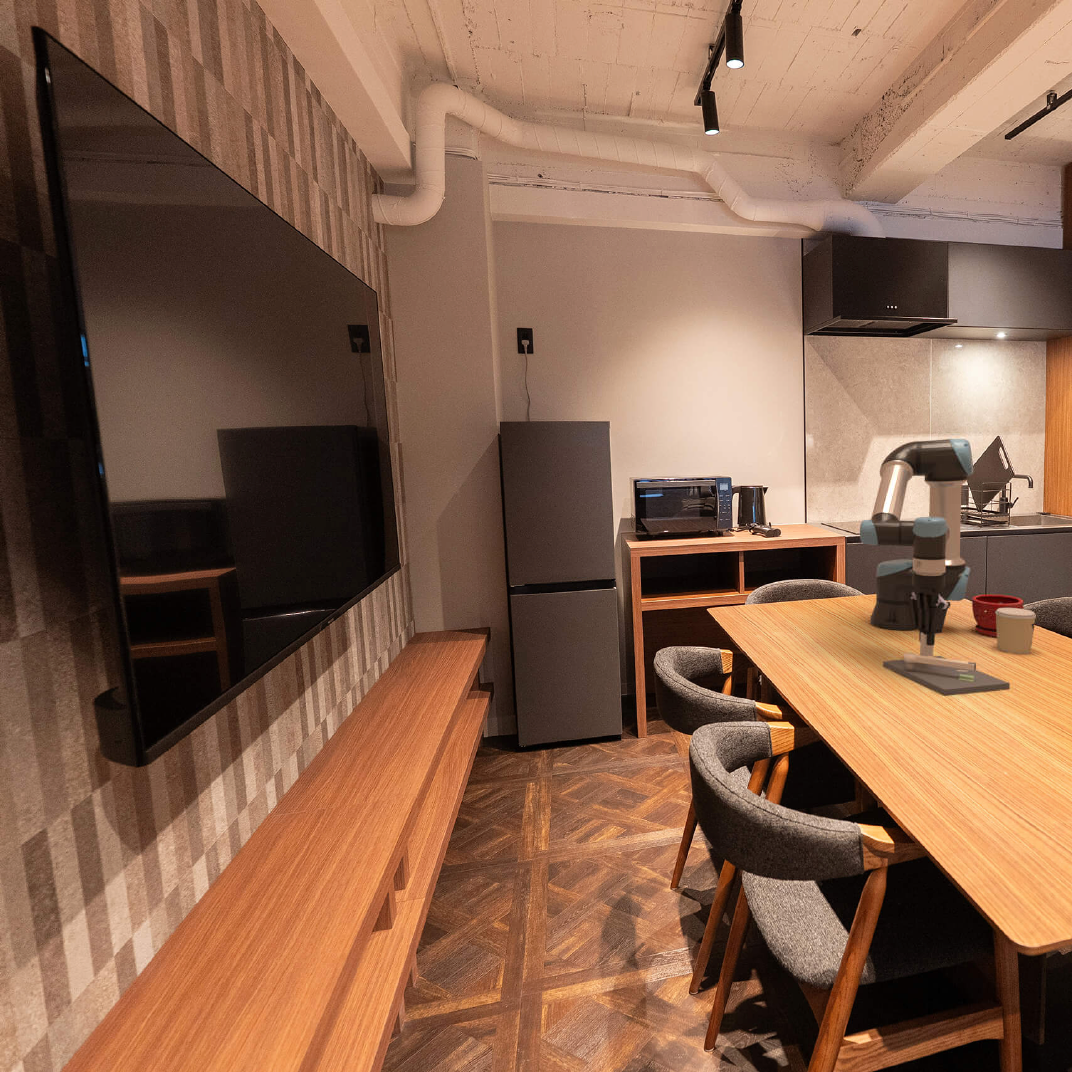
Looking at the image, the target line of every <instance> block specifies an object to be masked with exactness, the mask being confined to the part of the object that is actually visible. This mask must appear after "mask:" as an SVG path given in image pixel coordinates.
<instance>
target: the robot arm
mask: <svg viewBox="0 0 1072 1072" xmlns="http://www.w3.org/2000/svg"><path fill="white" fill-rule="evenodd" d="M973 474H974V461H973V454H972V449H971V443H970V441H968V440H967V439H964V438H948V439H934V440H914V441H910V442H907V443H904V444H902V445H900V446H898V447H896V448H895V449H894V450H892V451H891V452H890V453H889V454H888V455H887V456H886V457H885V458H884V460H883V461H882V463H881V465H880V469H879V476H880V478H881V479H880V483H879V486H878V490H877V494H876V498H875V502H874V505H873V510H872V514H871V518H870V519H865V520H862V522H861V523H860V527H859V538H860V541H861V543H862V544H864V545H871V546H872V545H874V546H896V547H897V546H899V547H900V546H902V547H913V548H912V550H913V551H912V552H913V553H912V559H908V558H905V559H892V560H886V561H882V562H880V563H879V564H878V565H877V567H876V574H875V577H876V596H875V597H876V601H875V605H874V608H873V611H872V613H871V615H870V621H869V622H871V623H870V624H871V625H872V624H873V625H872V626H874V627H877V626H878V627H877V628H880V627H882V629H884V630H885V629H886V630H892V629H893V631H913V630H917V631H918V632H919V633H918V635H919V636H918V638H919V639H918V641H919V644H920V645H919V655H921V656H929V657H933V656H934V646H935V640H936V639H935V637H936V635H937V634H942V632H943V628H944V624H945V621H946V617H947V613H948V610H949V608H950V607H951V605H952V604H951V602H955V601H956V602H961V601H963V600H964V599H965V597H966V593H967V588H968V584H969V578H970V572H971V568H970V567H969V566H966V561H965V560H964V559H963V558H962V557H961V556H960V554H961V524H962V523H961V521H962V517H961V516H962V490H963V489H962V486H963V484H965V483H966V482H967V481H968V479H969V478H968V477H969V476H971V475H973ZM913 477H924V483H926V484H927V485H928V486H929V507H928V508H929V510H928V511H929V512H928V514H929V515H928V516H921V517H917V518H915V519H914V520H901V518H902V517H901V516H902V511H903V507H904V501H905V497H906V493H907V488H908V483H909V481H910V480H911V479H912V478H913Z"/></svg>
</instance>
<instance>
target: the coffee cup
mask: <svg viewBox="0 0 1072 1072" xmlns="http://www.w3.org/2000/svg"><path fill="white" fill-rule="evenodd" d="M995 613H996V628H997V637H996V640H997V641H996V644H997V645H996V646H997V649H998V650H999V649H1000V651H1002V652H1004V651H1005V652H1004V653H1009V652H1010V654H1018V655H1028V654H1030V653H1031V650H1032V645H1033V637H1034V630H1035V621H1036V617H1037V615H1036V613H1035V612H1034V611H1032V610H1030V609H1024V608H1023V609H1018V608H999V609H997V611H996V612H995Z"/></svg>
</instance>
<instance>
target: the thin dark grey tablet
mask: <svg viewBox="0 0 1072 1072" xmlns="http://www.w3.org/2000/svg"><path fill="white" fill-rule="evenodd" d="M932 657H936V658H944V659H948V658H947V657H944V656H941V655H936V656H934V655H933V656H932ZM882 667H884V668H885V669H888V670H889V671H892V672H894V673H896V674H898V675H900V676H902V677H904V678H907V679H909V680H911V681H913V682H915V683H918V684H920V685H922V686H924V687H925V688H928V689H930V690H933V691H935V692H937V693H938V694H940V695H943V696H951V695H960V694H961V695H963V694H971V693H981V692H982V691H983V692H989V691H990V692H991V691H1001V690H1000V689H1003V690H1009V689H1010V686H1011V685H1010V684H1011V683H1010V682H1008V681H1005V680H1003V679H1000V678H998V677H995V676H993V675H989V674H988V673H985V672H982V671H980V670H977V669H976V670H968V669H960V668H953V667H946V666H939V665H932V664H924V663H909V662H905V661H904V658H903V659H894V660H883V661H882Z"/></svg>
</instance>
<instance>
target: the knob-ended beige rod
mask: <svg viewBox="0 0 1072 1072" xmlns="http://www.w3.org/2000/svg"><path fill="white" fill-rule="evenodd" d="M944 658H945V657H944ZM944 658H936V657H933V656H922V655H920V654H917V653H914V652H904V653H903V659H904V661H905V662H909V663H924V664H932V665H939V666H946V667H953V668H960V669H968V670H977V663H976V662H972V661H966V660H965V661H964V660H958V659H950V658H947V659H944Z"/></svg>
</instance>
